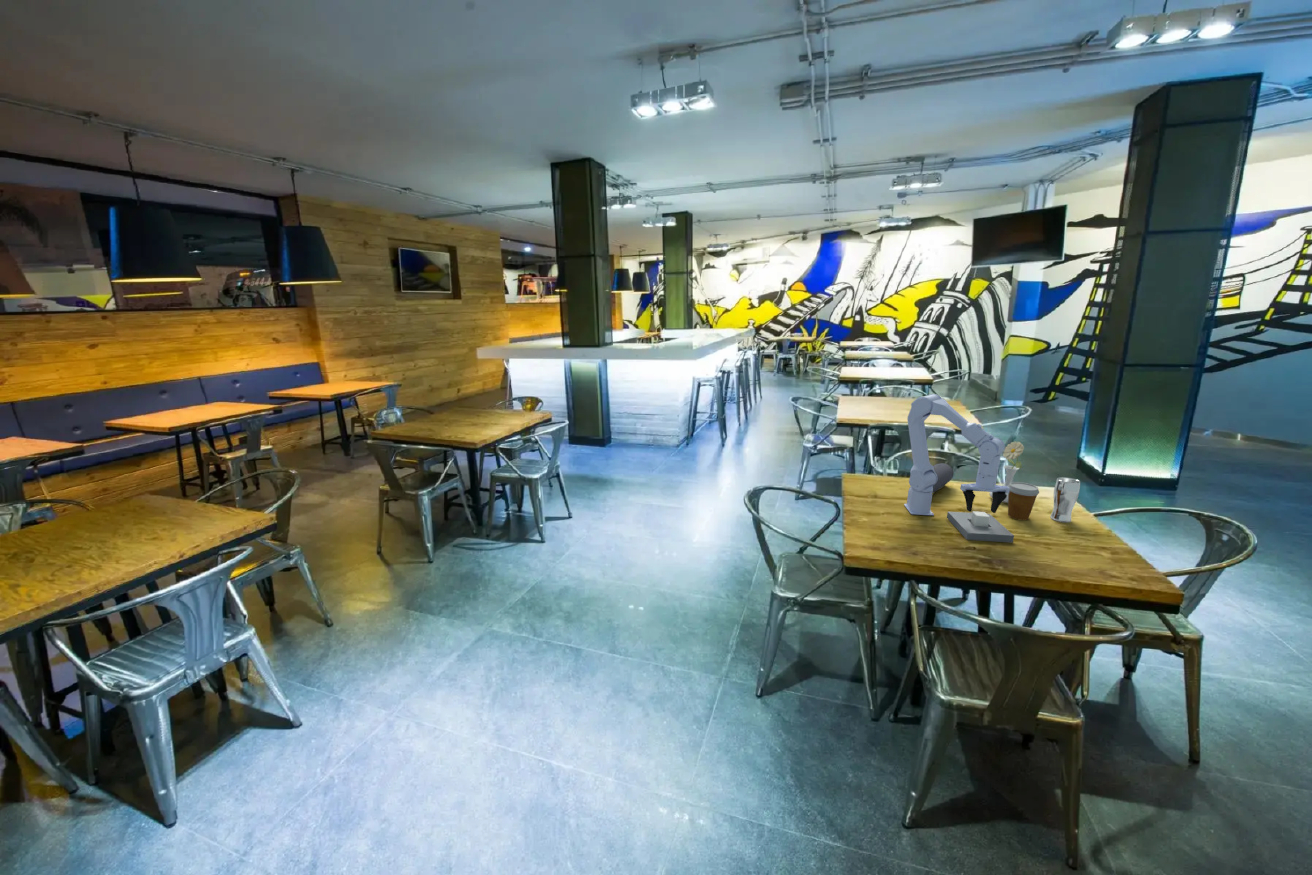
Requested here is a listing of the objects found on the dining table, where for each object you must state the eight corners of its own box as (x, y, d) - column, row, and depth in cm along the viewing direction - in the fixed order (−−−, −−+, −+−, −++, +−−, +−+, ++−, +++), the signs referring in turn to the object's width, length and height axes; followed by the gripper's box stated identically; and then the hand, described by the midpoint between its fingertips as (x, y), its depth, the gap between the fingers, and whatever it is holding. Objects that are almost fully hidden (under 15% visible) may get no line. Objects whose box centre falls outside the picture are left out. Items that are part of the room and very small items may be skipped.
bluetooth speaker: (929, 481, 227) (932, 459, 224) (953, 486, 220) (956, 464, 218) (909, 494, 212) (912, 471, 209) (933, 500, 205) (936, 476, 203)
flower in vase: (985, 493, 212) (995, 434, 206) (1017, 496, 209) (1028, 437, 202) (994, 505, 200) (1005, 443, 194) (1028, 508, 197) (1041, 445, 190)
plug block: (969, 527, 181) (972, 511, 180) (982, 527, 181) (984, 512, 179) (974, 531, 178) (976, 515, 176) (987, 532, 177) (989, 516, 175)
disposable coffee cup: (1040, 522, 185) (1046, 490, 182) (1013, 522, 185) (1019, 490, 182) (1021, 511, 194) (1027, 481, 191) (996, 511, 194) (1002, 481, 191)
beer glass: (1069, 517, 189) (1078, 478, 185) (1075, 524, 183) (1083, 484, 179) (1046, 514, 192) (1054, 475, 188) (1051, 521, 186) (1059, 481, 182)
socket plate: (946, 517, 189) (947, 511, 188) (988, 520, 187) (989, 513, 186) (966, 539, 172) (967, 532, 171) (1012, 542, 170) (1014, 535, 169)
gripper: (968, 476, 171) (962, 514, 175) (1016, 478, 169) (1009, 517, 173) (960, 469, 178) (954, 506, 182) (1006, 471, 176) (999, 508, 179)
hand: (980, 511), depth 178 cm, fingers open, 7 cm apart
